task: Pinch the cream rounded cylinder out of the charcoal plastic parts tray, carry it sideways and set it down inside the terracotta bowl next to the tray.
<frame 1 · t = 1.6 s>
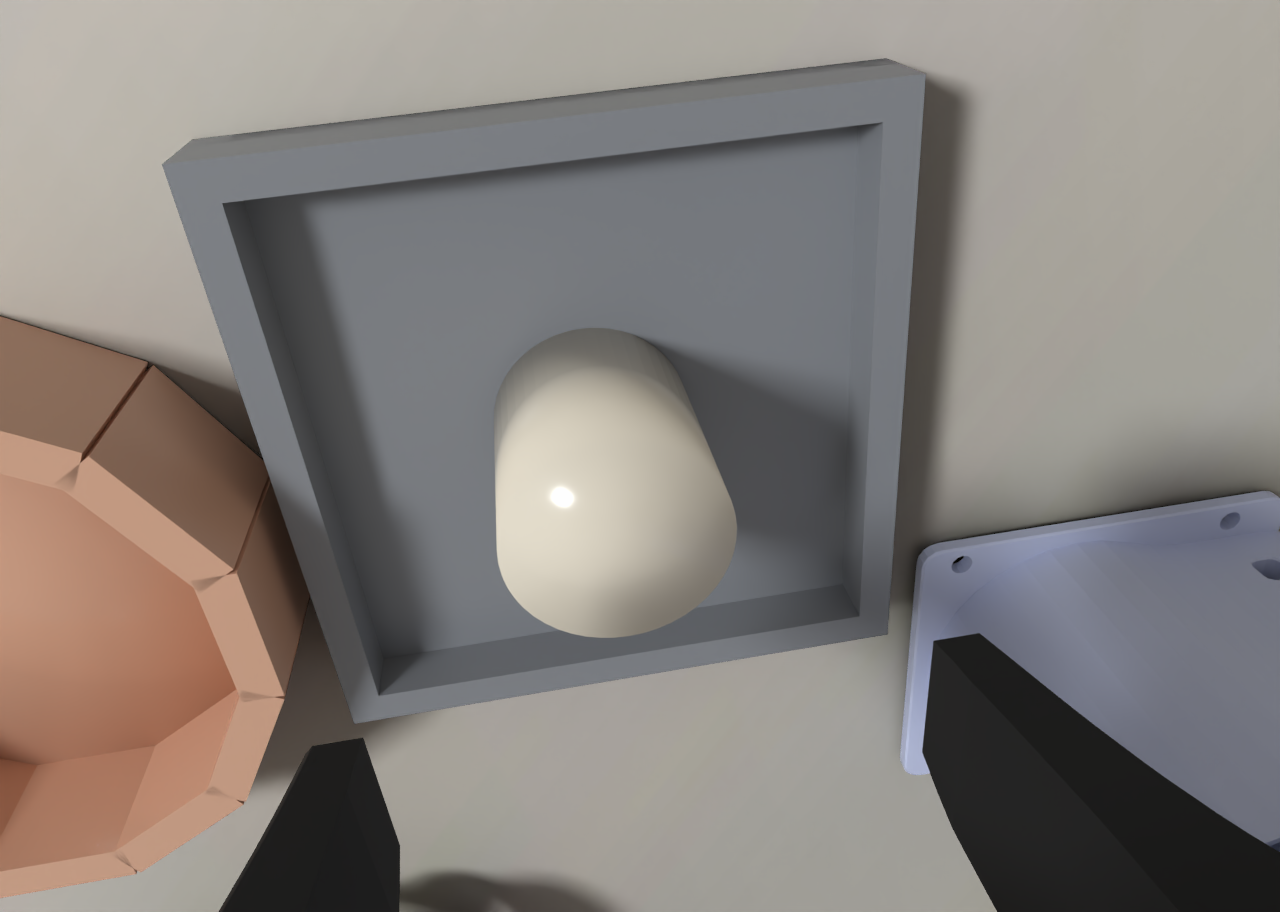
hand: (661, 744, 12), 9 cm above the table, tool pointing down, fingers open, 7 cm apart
terracotta bowl: (16, 571, 20), on the table
parts tray: (588, 404, 20), on the table
cream rounded cylinder: (591, 417, 19), point 1 cm above the table, touching parts tray
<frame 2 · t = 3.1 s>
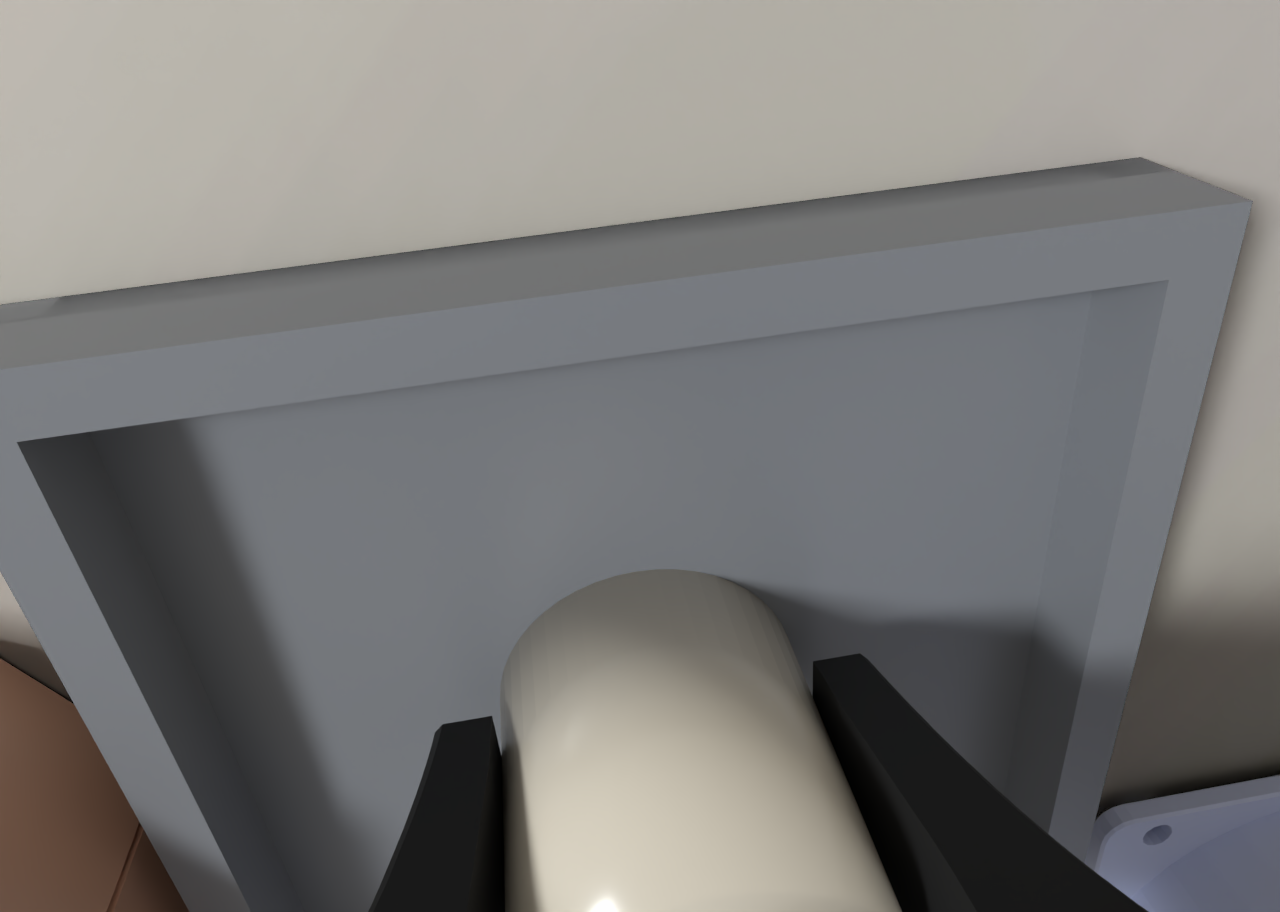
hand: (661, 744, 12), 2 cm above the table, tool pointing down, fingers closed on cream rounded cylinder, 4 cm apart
parts tray: (642, 657, 13), on the table
cream rounded cylinder: (648, 687, 13), point 1 cm above the table, touching gripper, parts tray
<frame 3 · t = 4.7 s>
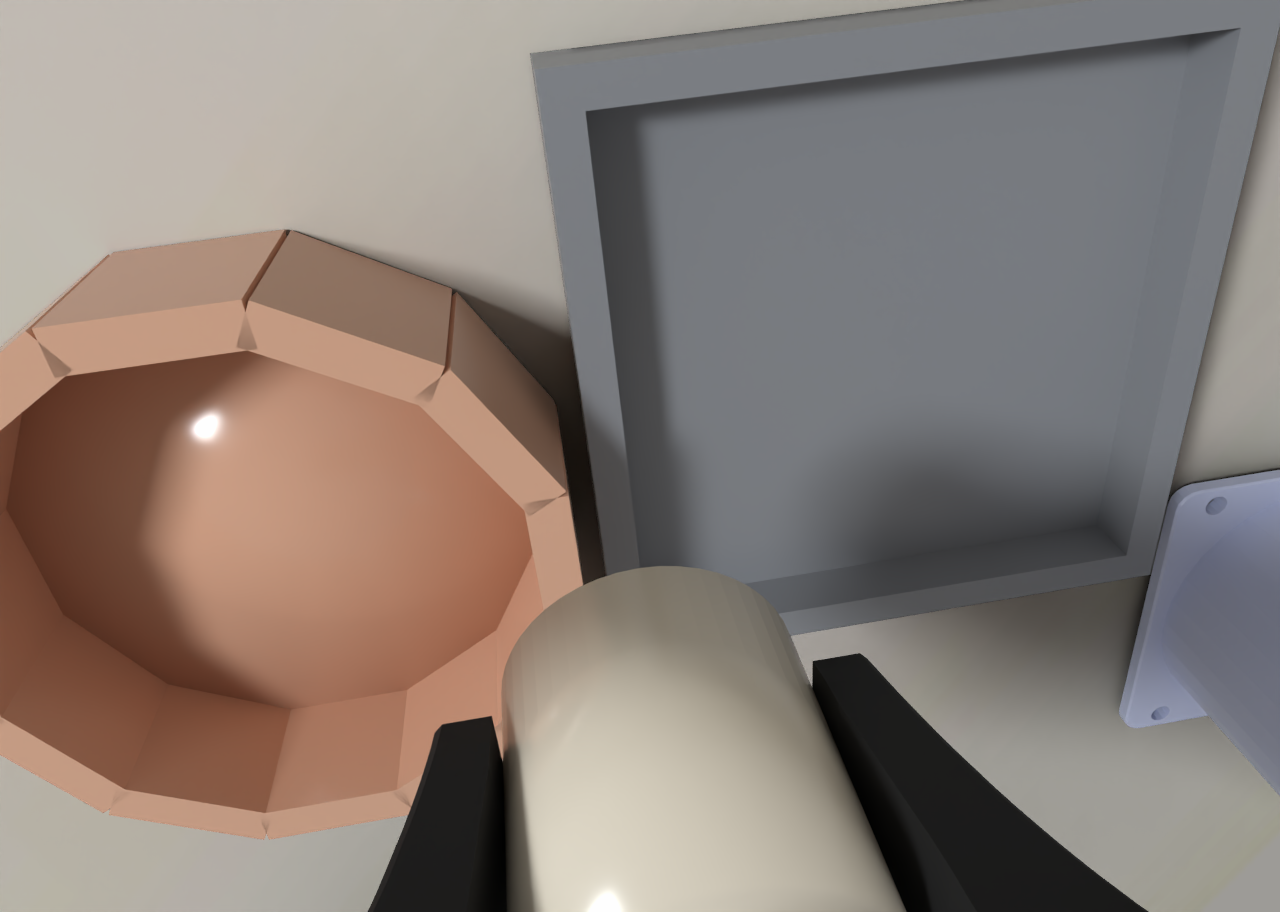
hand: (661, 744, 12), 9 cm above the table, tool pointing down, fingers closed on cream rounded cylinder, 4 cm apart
terracotta bowl: (292, 508, 20), on the table
parts tray: (871, 336, 20), on the table
cream rounded cylinder: (650, 684, 13), point 8 cm above the table, touching gripper
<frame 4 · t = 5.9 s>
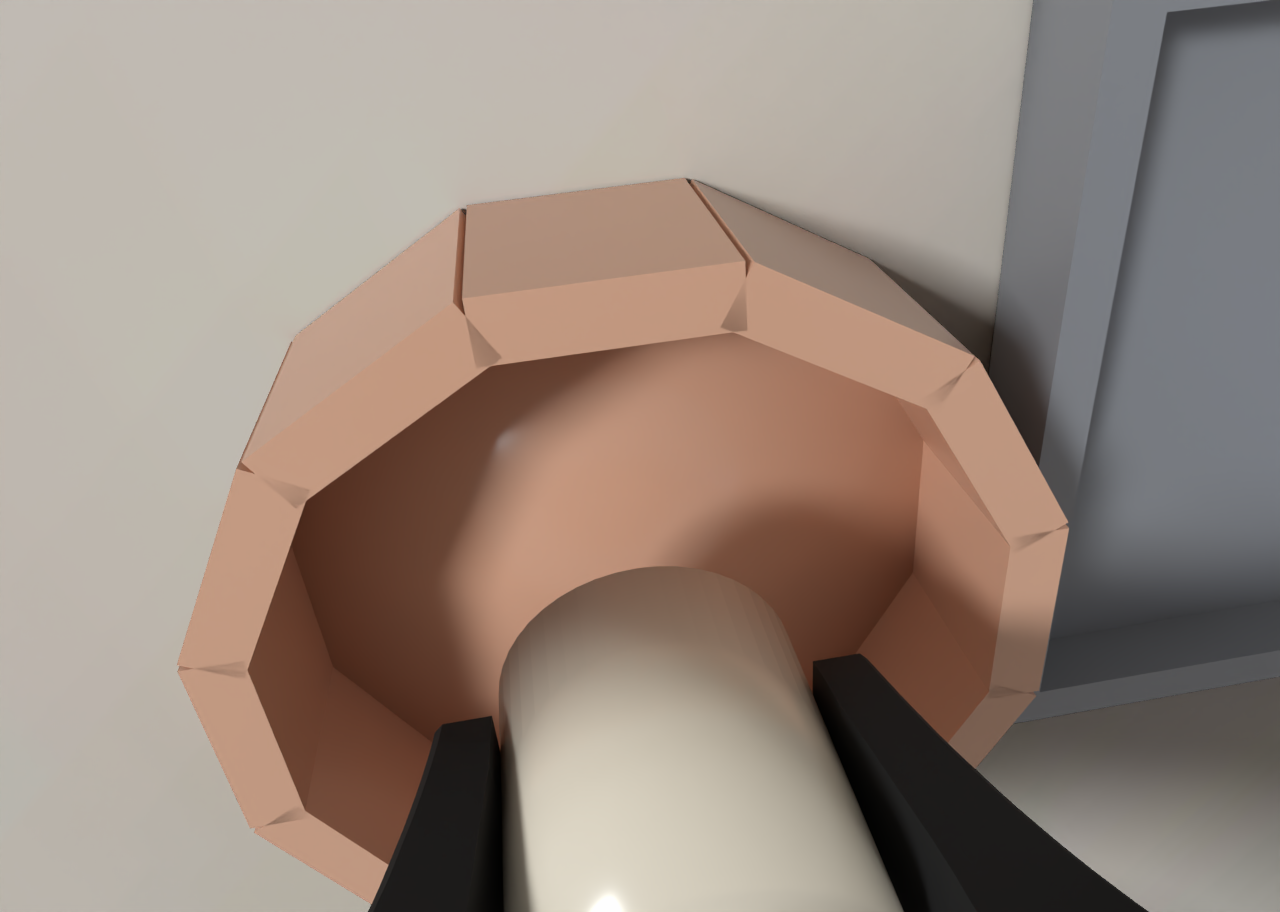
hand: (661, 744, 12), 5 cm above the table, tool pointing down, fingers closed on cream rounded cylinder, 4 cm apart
terracotta bowl: (618, 534, 16), on the table
cream rounded cylinder: (648, 685, 13), point 4 cm above the table, touching gripper
when the fingers open (4 cm above the table, at t = 6.5 s): cream rounded cylinder drops 2 cm, resting on terracotta bowl.
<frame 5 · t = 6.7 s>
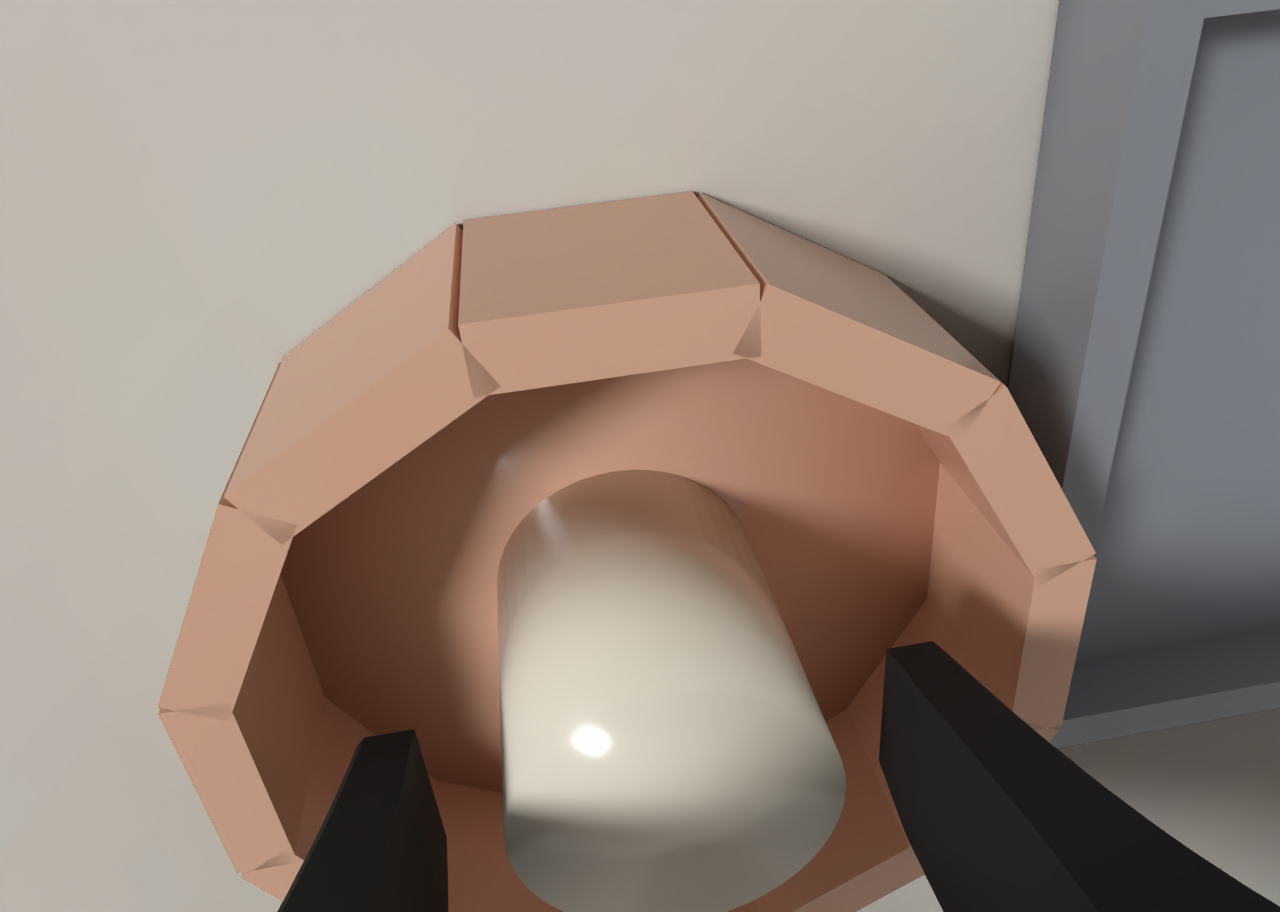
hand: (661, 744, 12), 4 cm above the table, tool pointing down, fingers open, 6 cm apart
terracotta bowl: (621, 559, 15), on the table
cream rounded cylinder: (626, 579, 15), point 1 cm above the table, touching terracotta bowl
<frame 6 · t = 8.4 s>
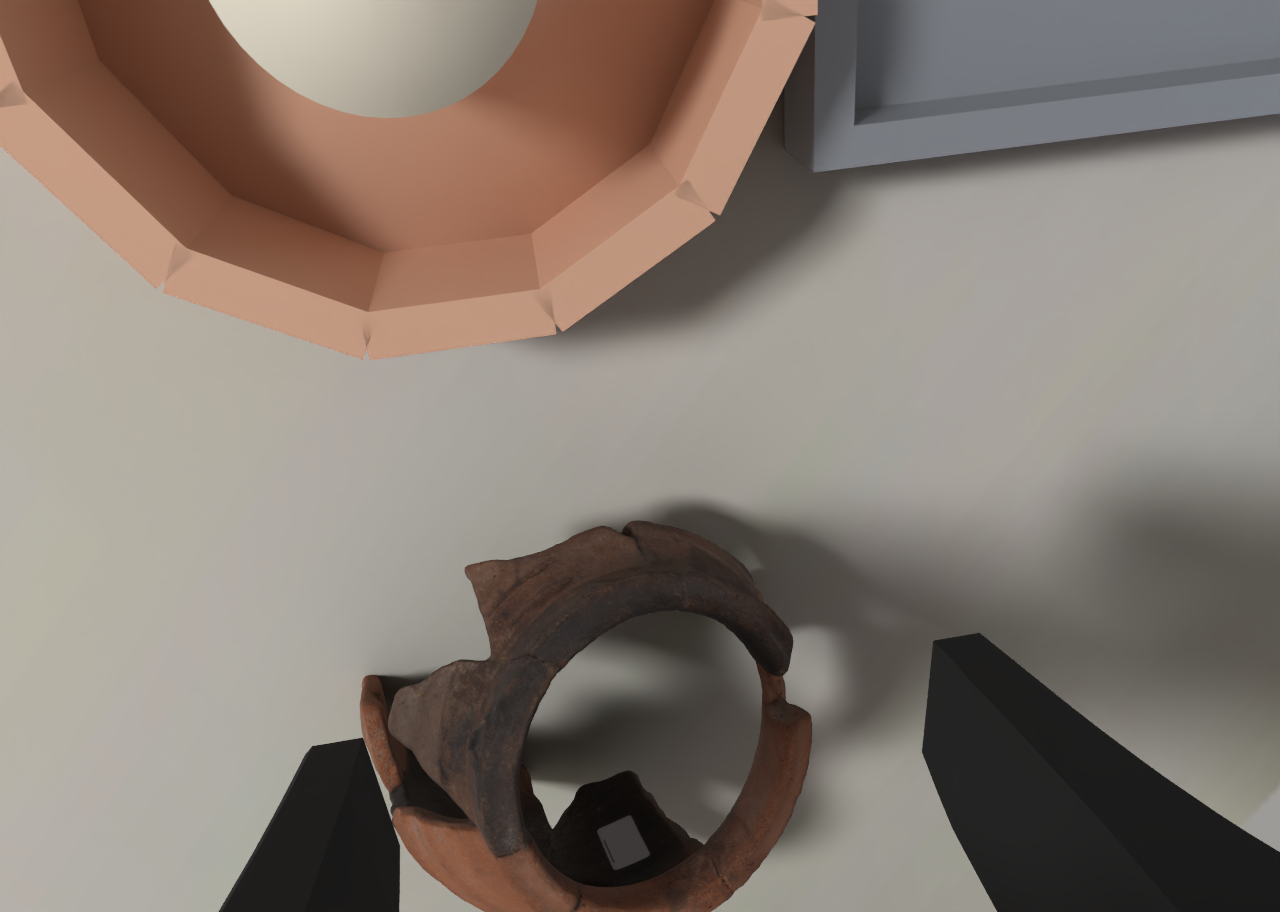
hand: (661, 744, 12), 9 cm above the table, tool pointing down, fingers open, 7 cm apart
broken clay pot: (573, 665, 24), on the table
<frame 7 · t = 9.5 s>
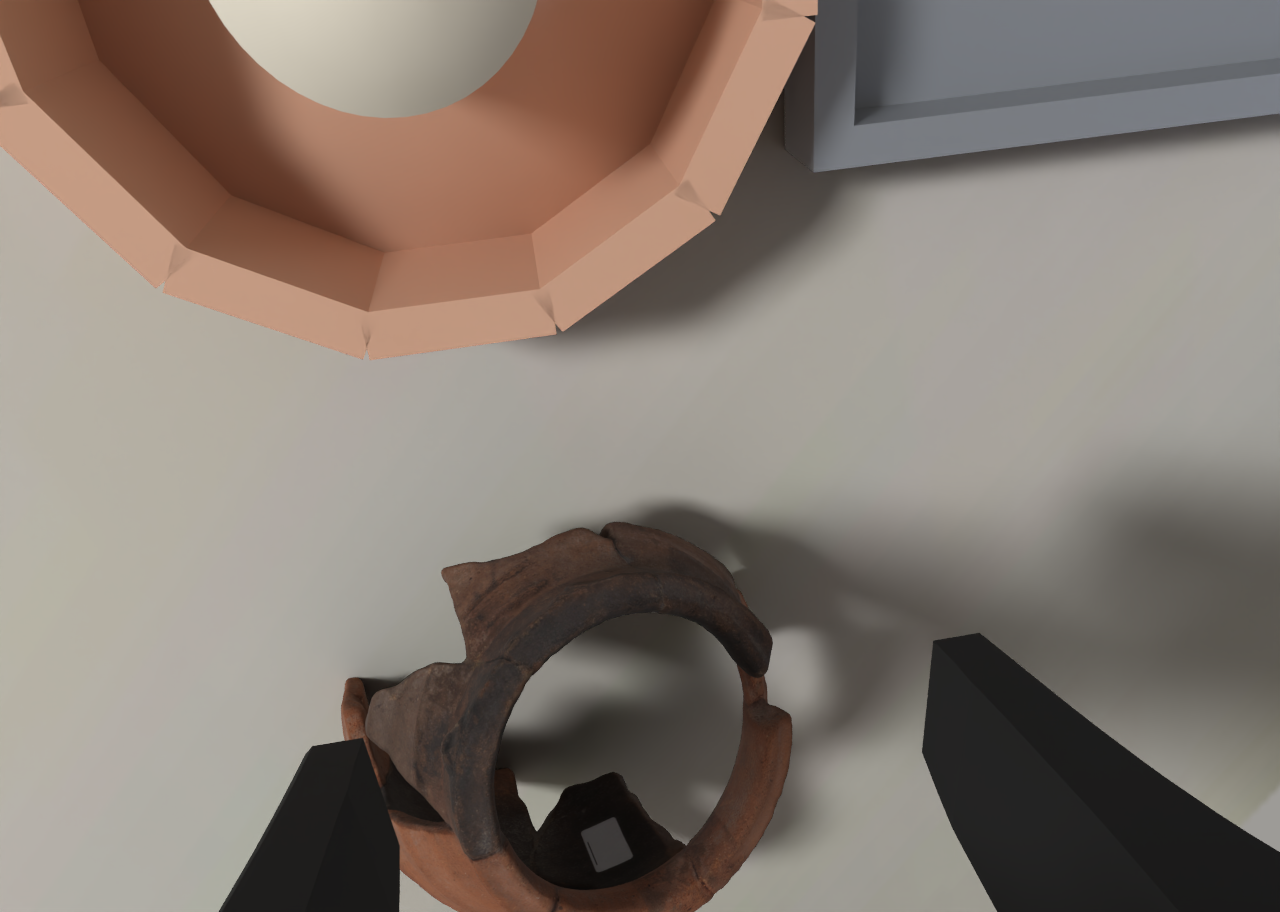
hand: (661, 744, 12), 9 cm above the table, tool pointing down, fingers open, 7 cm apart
broken clay pot: (557, 667, 24), on the table
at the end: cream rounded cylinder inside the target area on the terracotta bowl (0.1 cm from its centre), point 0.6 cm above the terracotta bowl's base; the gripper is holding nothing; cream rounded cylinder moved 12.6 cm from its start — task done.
